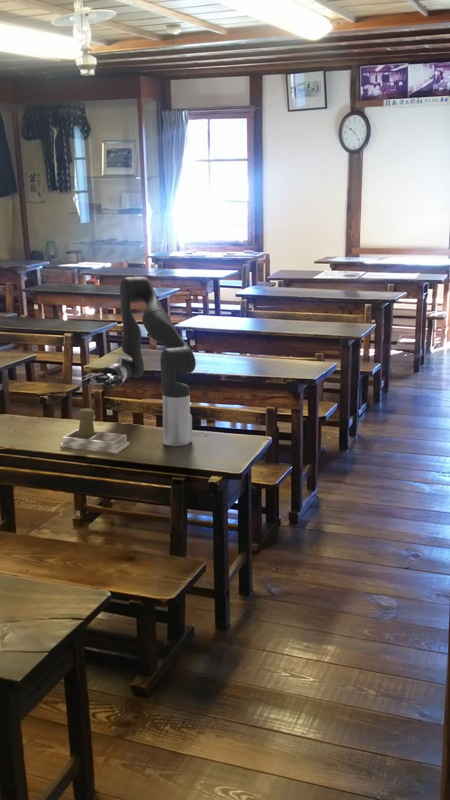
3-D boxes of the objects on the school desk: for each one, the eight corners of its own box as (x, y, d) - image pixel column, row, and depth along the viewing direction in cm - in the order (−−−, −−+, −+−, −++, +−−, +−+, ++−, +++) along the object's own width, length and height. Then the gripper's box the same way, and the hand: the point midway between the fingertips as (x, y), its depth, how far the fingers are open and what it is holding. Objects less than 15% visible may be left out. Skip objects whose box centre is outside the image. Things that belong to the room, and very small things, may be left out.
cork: (93, 443, 266) (93, 411, 264) (75, 442, 267) (75, 410, 264) (97, 438, 272) (97, 407, 270) (79, 437, 272) (79, 406, 270)
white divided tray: (60, 446, 266) (59, 436, 265) (74, 438, 275) (74, 428, 275) (116, 453, 260) (116, 443, 259) (129, 444, 269) (129, 435, 268)
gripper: (95, 364, 291) (75, 372, 275) (131, 365, 287) (113, 374, 272) (96, 384, 292) (76, 393, 277) (131, 385, 289) (114, 395, 273)
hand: (95, 383), depth 274 cm, fingers open, 8 cm apart
